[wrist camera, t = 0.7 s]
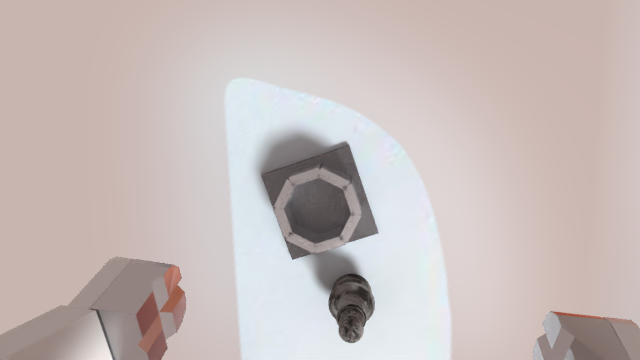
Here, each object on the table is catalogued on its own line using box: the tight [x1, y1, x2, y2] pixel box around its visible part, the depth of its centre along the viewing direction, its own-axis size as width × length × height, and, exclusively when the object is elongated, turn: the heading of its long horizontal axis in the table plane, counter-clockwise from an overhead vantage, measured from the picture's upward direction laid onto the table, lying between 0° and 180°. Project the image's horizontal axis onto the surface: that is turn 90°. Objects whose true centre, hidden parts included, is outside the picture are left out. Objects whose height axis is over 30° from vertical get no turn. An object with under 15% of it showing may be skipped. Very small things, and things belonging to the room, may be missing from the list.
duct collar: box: [262, 146, 378, 260], centre depth 54 cm, size 12×12×5 cm
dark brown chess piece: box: [329, 274, 375, 343], centre depth 52 cm, size 6×6×12 cm
